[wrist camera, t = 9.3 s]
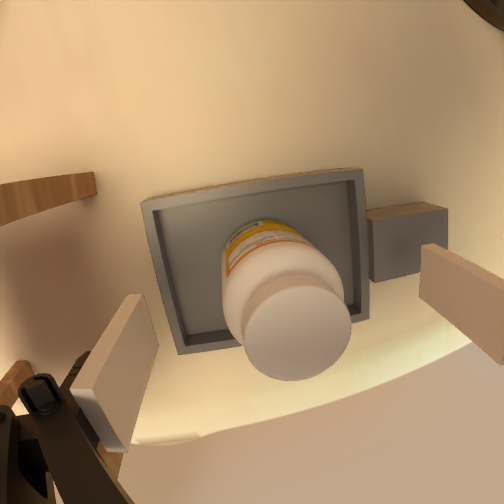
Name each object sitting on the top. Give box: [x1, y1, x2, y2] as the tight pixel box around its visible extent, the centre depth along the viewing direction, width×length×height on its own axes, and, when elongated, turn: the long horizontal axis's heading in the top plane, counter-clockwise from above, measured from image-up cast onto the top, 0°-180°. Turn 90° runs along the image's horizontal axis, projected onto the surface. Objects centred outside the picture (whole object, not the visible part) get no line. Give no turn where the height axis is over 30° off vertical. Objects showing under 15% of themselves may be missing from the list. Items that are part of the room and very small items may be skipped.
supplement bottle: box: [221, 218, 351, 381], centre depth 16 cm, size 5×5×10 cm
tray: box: [140, 168, 448, 355], centre depth 20 cm, size 19×10×3 cm, turn 98°
